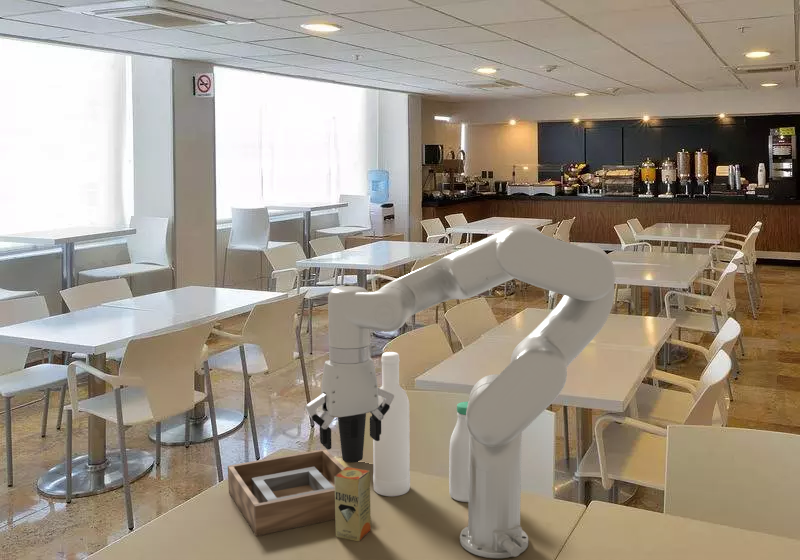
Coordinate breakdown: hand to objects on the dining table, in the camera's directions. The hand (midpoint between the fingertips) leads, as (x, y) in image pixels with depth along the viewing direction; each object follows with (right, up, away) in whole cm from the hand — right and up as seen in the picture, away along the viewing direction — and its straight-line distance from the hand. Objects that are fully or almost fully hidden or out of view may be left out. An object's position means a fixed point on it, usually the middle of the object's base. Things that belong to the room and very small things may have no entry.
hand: (351, 442), depth 148 cm
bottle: (+7, -15, +23) cm, 28 cm away
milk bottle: (+23, -15, +19) cm, 34 cm away
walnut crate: (-13, -16, +16) cm, 26 cm away
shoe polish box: (0, -18, +3) cm, 18 cm away
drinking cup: (-2, -12, +40) cm, 42 cm away
